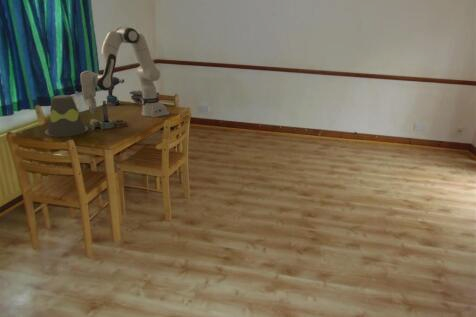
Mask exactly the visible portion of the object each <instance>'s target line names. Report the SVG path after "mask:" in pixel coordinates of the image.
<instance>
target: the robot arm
mask: <svg viewBox="0 0 476 317" xmlns="http://www.w3.org/2000/svg"><path fill="white" fill-rule="evenodd" d="M122 43H123V44H131V46H132V49H133V52H134V55H135V59H136V61H137V63H138V64H139V66H138V67H137V68H136V70H135V71H136V75H137V77H138V78H139V83H140V86H141V91H142V99H141V100H142V104H143V105H142V110H141V111H142V112H141V116H144V117H150V118H151V117H152V118H156V117H161V116H166V115H170V112H169V110H167V107H166V105H165V104H163V103H162V102H161V100H162V99H161V97H159V96H158V97H156V92H157V87H156V85H155V83H154V82H157V81H158V80H159V79H160V78H161V72H160V70H159V69H158V68H157V66H156V64H155V62H154V60H153V58H152V55H151V52H150V49H149V45H148V43H147V40H146V38H145V36H144V35H143V34H142V33H138V31H137V30H136V29H135V28H132V27H127V26H126V27H122V26H121V27H118V28H116V30H115V31H113V30H111V31H109V32H108V33H107V35H106V36H105V38H104V40H103V44H102V47H101V52H100V54H101V55H102V57H103V58H104V60H105V61H104V62H105V65H104V69H103V74H99V73H97V72H93V71H92V70H89V69H88V70H84V71H82V72H81V73H80V76H79V77H80V86H81V95H82V97H83V101H84V104H85V106H87V107H88V109H89V113H91V114H93V113H94V110H96V109H98V106H97V101H96V98H95V97H96V96H97V93H96V88H97V89H100V90H101V91H105V92H107V91H108V90H109V89H110V88H111V87H112V84H113V81H112V77H114V71H115V68H116V63H117V57H118V53H119V50H120V47H121V45H122Z"/></svg>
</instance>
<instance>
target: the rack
mask: <svg viewBox="0 0 476 317" xmlns="http://www.w3.org/2000/svg"><path fill="white" fill-rule="evenodd" d="M112 122H113V125H114V127H115V128H121V127H128V122H127V121H126V120H125V119H116V120H112Z"/></svg>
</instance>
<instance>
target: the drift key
mask: <svg viewBox="0 0 476 317" xmlns="http://www.w3.org/2000/svg"><path fill="white" fill-rule="evenodd" d="M98 121H99V120H98V119H96V118H92V119H89V122H92V123H93V124H94V127H95V128H100V127H99V123H98Z"/></svg>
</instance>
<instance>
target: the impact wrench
mask: <svg viewBox="0 0 476 317" xmlns="http://www.w3.org/2000/svg"><path fill="white" fill-rule="evenodd" d="M112 81H113V84H112V87H111V88H110V89H109V90H107V91H108V92H107V93H108V95H107V96H106V105H107V106H118V105H119V104H120V100H119V99H118V97H117V95H116V96H115V95H114V94H113V91H114V89H115V86H116V85H117V86H118V85H120V84H124V83H125V79H124V78H123V79H122V78H121V79H120V78H118V77H116V76H113V77H112Z"/></svg>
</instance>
